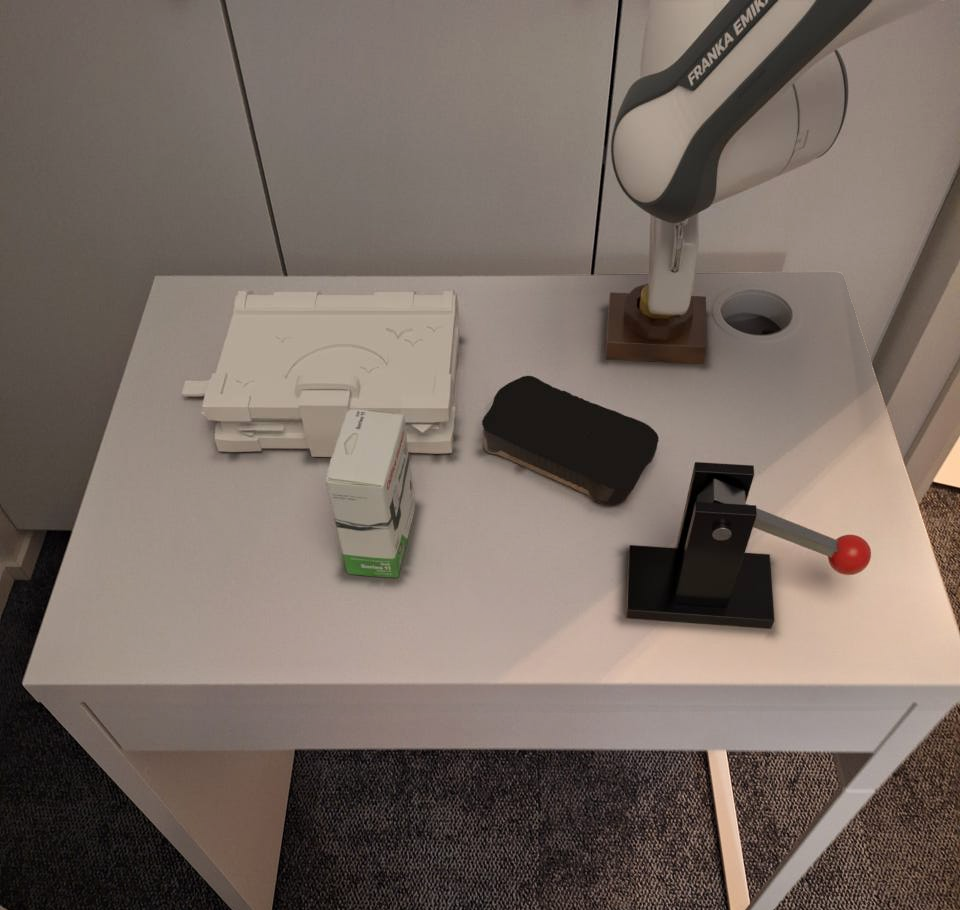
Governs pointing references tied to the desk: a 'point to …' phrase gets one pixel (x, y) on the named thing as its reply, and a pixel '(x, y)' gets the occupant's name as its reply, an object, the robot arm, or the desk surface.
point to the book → (333, 368)
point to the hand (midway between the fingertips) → (661, 293)
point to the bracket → (705, 563)
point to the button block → (655, 331)
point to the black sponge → (569, 439)
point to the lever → (797, 531)
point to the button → (644, 305)
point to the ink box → (372, 491)
